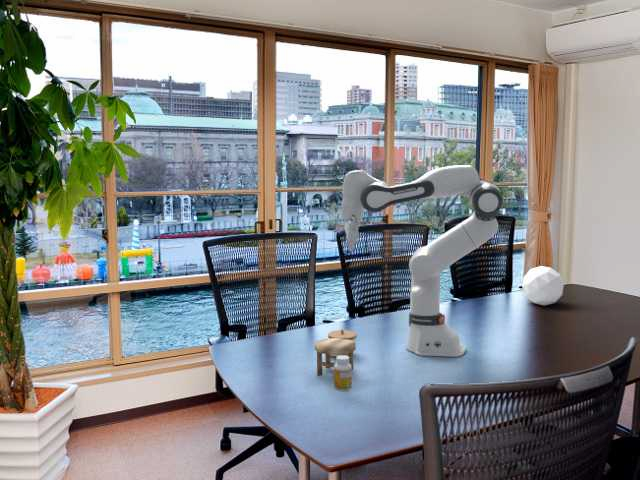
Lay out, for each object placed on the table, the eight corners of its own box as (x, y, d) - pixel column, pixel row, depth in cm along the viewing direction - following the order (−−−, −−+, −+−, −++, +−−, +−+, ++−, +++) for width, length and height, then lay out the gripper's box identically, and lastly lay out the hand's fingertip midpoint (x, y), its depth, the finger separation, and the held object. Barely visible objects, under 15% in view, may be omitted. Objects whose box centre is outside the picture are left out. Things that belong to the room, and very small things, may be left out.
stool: (360, 367, 214) (360, 340, 212) (348, 381, 201) (348, 352, 199) (323, 363, 219) (322, 336, 217) (309, 376, 206) (308, 348, 204)
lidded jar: (360, 350, 233) (359, 327, 232) (352, 359, 223) (352, 334, 222) (333, 348, 236) (333, 324, 235) (324, 356, 226) (324, 332, 225)
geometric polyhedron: (549, 319, 300) (559, 293, 286) (511, 301, 309) (519, 274, 295) (565, 295, 310) (575, 269, 296) (528, 278, 319) (535, 252, 305)
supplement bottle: (333, 385, 198) (332, 354, 196) (350, 384, 198) (350, 354, 197) (335, 391, 192) (334, 360, 191) (352, 390, 193) (352, 359, 191)
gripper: (363, 219, 221) (360, 255, 225) (358, 207, 241) (355, 241, 245) (346, 218, 221) (343, 254, 225) (342, 206, 241) (340, 240, 244)
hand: (349, 247), depth 235 cm, fingers open, 8 cm apart
